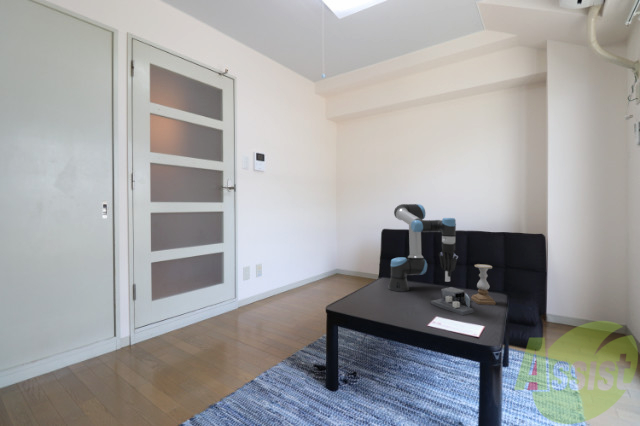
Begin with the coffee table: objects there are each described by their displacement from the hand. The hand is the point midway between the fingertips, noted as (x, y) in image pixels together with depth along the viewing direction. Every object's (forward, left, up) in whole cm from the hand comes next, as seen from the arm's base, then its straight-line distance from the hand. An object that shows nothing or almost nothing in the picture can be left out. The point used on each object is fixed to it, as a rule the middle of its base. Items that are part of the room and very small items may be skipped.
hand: (447, 281), depth 176 cm
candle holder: (+3, +31, -17) cm, 35 cm away
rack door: (+4, +15, -16) cm, 22 cm away
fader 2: (+6, 0, -14) cm, 15 cm away
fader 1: (-3, +5, -14) cm, 15 cm away
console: (+1, +2, -16) cm, 16 cm away
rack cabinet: (-6, +13, -16) cm, 21 cm away
